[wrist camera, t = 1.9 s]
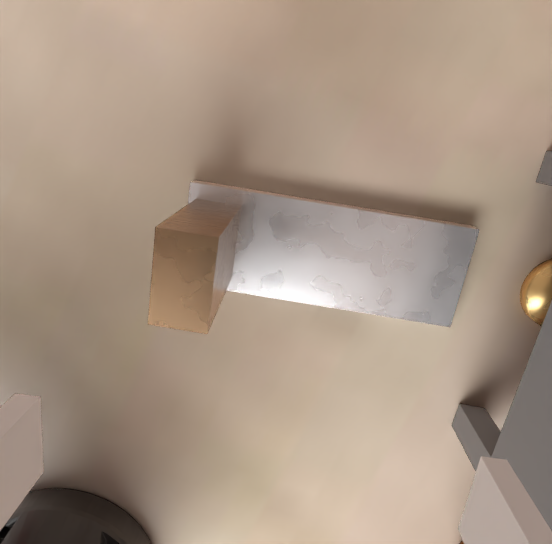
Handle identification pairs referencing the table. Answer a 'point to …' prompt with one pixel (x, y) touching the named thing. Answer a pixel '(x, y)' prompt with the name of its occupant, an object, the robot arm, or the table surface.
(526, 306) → the brass token
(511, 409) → the gray cabinet
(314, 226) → the steel scraper
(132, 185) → the table surface
